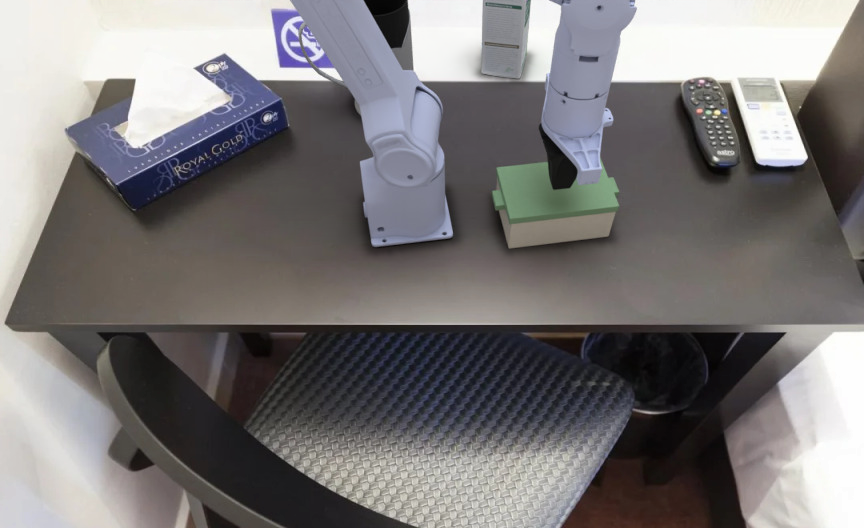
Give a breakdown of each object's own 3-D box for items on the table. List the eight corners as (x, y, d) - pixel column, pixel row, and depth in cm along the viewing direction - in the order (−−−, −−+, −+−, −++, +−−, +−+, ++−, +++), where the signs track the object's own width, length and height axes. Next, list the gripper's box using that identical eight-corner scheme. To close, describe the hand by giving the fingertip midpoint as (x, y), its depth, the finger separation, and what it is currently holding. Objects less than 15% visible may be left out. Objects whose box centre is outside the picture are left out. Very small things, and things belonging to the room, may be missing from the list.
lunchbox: (618, 235, 78) (600, 186, 82) (628, 204, 74) (608, 154, 78) (498, 250, 77) (485, 199, 81) (501, 219, 72) (487, 168, 77)
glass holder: (426, 116, 89) (421, 11, 77) (321, 137, 87) (299, 33, 74) (409, 76, 94) (402, -29, 81) (309, 95, 91) (286, -10, 79)
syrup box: (520, 80, 94) (530, -21, 81) (479, 74, 94) (482, -26, 82) (526, 55, 97) (536, -45, 85) (486, 50, 97) (491, -50, 85)
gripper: (644, 128, 58) (614, 230, 70) (600, 30, 66) (579, 136, 78) (566, 136, 58) (548, 237, 69) (531, 36, 66) (519, 142, 77)
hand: (560, 184), depth 73 cm, fingers closed
